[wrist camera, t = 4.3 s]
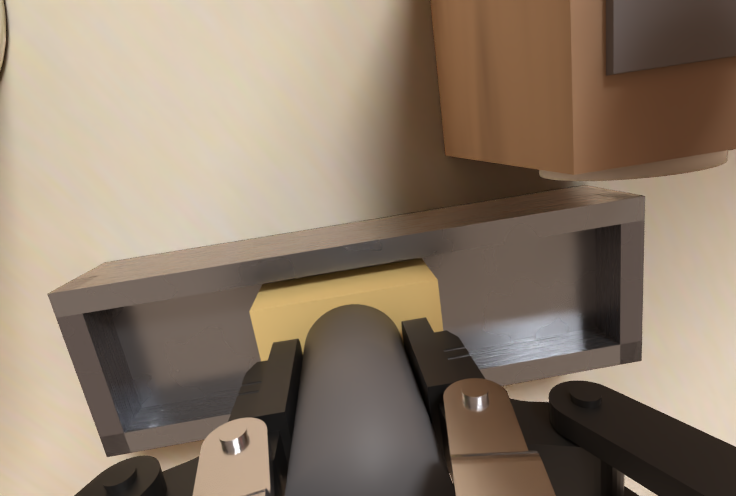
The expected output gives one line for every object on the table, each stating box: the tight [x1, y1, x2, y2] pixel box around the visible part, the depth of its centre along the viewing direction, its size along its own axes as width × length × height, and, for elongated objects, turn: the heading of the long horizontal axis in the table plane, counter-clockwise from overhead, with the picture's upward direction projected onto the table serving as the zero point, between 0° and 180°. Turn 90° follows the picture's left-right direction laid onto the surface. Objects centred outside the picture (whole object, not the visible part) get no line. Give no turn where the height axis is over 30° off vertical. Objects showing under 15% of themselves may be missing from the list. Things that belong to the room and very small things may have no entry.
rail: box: [48, 185, 645, 457], centre depth 16 cm, size 19×6×3 cm, turn 98°
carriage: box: [249, 258, 455, 496], centre depth 11 cm, size 6×4×8 cm, turn 98°
